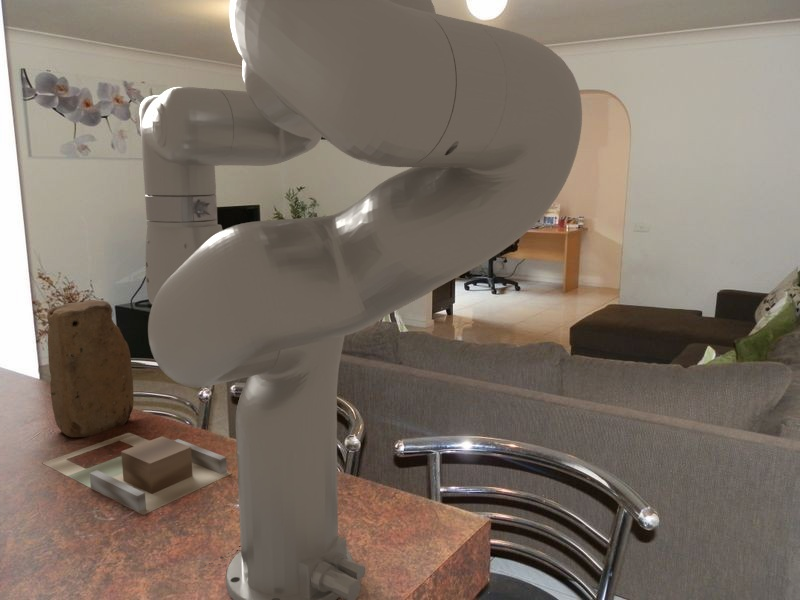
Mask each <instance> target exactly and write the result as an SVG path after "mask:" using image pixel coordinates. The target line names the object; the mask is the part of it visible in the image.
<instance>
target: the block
mask: <svg viewBox="0 0 800 600" xmlns="http://www.w3.org/2000/svg"><path fill="white" fill-rule="evenodd" d="M112 314H113V308H112V306H111V304H110V303H109V302H108V301H105V300H97V299H88V300H84V301H81V302H78V301H77V302H70V303H65V304H62V305H61V304H60V305H57V306H54V307H51V308H50V309H49V310H48V311H47V314H46V319H47V323H48V326H49V327H48V330H47V353H48V354H47V356H48V357H47V358H48V367H49V374H50V387H49V388H50V398H51V404H52V411H53V416H54V419H55V423H56V426H57V428H58V429H59V430H60V431H61V432H62V433H63V434H64V435H66V436H67V437H70V438H87V437H91V436H95V435H97V434H100V433H103V432H107V431H109V430H112V429H115V428H119V427H121V426H124V425H125V424H126V423H127V421H128V420H130V418H131V414H132V412H133V409H134V401H135V400H134V399H135V398H134V378H133V369H132V368H133V366H132V359H131V351H130V348H129V344H128V342H127V341H126V340H125V338H124V336H123V334H122V332H121V329H120V327H119V326H117V325H116V323H115V322H114V320H113V315H112Z"/></svg>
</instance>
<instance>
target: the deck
mask: <svg viewBox="0 0 800 600" xmlns="http://www.w3.org/2000/svg"><path fill="white" fill-rule="evenodd" d="M173 440H174V439H173ZM119 441H120V442H121V443H124V444H126V445H129V446H132V447H134V446H137V445H140V444H142V443H145V442H148V441H150V440H149V439H146V438H144V437H141V436H139V435H136V434H134V433H132V432H126V433H123V434H121V435H117V436H115V437H112V438H109V439H106V440H104V441H101V442H98V443H95V444H92V445H89V446H85V447H83V448H81V449H80V448H79V449H78V450H74V451H71V452H68V453H67V454H64V455H61V456H58V457H55V458H52V459H49V460H46V461H44V462H42V463H41V464H42V465H45V466H47V467H48V468H50V469H52V470H54V471H56V472H58V473H60V474H61V475H64V476H66V477H67V478H70V479H72V480H74V481H75V482H77V483H80V484H82V485H84V486H86V487H88V488H89V489H92V490H94V491H96V492H98V493H99V494H101V495H102V496H105V497H107V498H108V499H112V500H114V501H115V502H117V503H119V504H121V505H123V506H125V507H127V508H129V509H131V510H133V511H135V512H137V513H138V514H140V515H142V516H145V515H147V514H148V513H151V512H153V511H156V510H157V509H159V508H163V507H164V506H166V505H169V504H171V503H173V502H175V501H176V500H179V499H181V498H184V497H185V496H188V495H190V494H192V493H195V492H196V491H198V490H200V489H203V488H205V487H207V486H209V485H212V484H213V483H215V482H217V481H220V480H221V479H224V478H226V477H228V476H230V475H232V472H229V471H228V468H227V467H228V466H227V457H226V456H224V455H222V454H219V453H216V452H213V451H211V450H208V449H205V448H203V447H201V446H198V445H195V444H192V443H190V442H187V441H185V440H182V439H180V438H177V439H175V440H174V441H176V442H179V443H181V444H184V445H187V446H189V447H191V457H192V474H193V476H192V477H189V478H187V479H185V480H183V481H180V482H178V483H176V484H174V485H171V486H169V487H167V488H165V489H162V490H160V491H158V492H156V493H153V494H151V493H148V492H146V491H144V490H142V489H140V488H138V487H136V486H134V485H132V484H129V483H127V482H125V481H123V468H122V456H121V455H120V456H117V457H114V458H112V459H109V460H106V461H104V462H101V463H98V464H96V465H93V466H90V467H88V468H85V467H82V466H81V465H78V464H77V463H74V462H72V461H70V459H73V458H74V457H77V456H80V455H83V454H86V453H88V452H92V451H94V450H96V449H100V448H102V447H106V446H108V445H112V444H114V443H117V442H119Z"/></svg>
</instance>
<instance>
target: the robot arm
mask: <svg viewBox="0 0 800 600" xmlns="http://www.w3.org/2000/svg"><path fill="white" fill-rule="evenodd" d="M229 25H230V31H231V35H232V40H233V42H234V45H235V47H236V49H237V52H238V53H239V54H240V56H241V58H242V63H241V64H242V67H241V68H242V72H241V74H242V80H243V83H244V86H245V90H246V91H245V90H243V91H242V90H232V89H222V88H221V89H219V88H208V87H207V88H206V87H205V88H203V87H194V86H176V87H171V88H169V89H166V90H165V91H163V92H162V93H161V94H159V95H158V94H157V95H156V94H155V95H150V96H147V97H145V98H144V99H143V100H142V101H141V103H140V106H139V122H140V123H139V125H140V126H139V127H140V138H141V141H140V143H141V154H142V169H143V180H144V181H143V182H144V184H143V185H144V198H145V199H144V201H145V209H146V210H145V212H146V213H145V214H146V226H147V227H146V235H145V236H146V240H145V284H146V292H147V297H148V301H149V303H150V304H151V309H150V311H149V315H148V322H147V337H148V344H149V347H150V348H149V349H150V351H151V354H152V356H153V359H154V361H155V362H156V364H157V366H158V367H159V369H160V370H161V371H162V372H163V373H164V374H165V375H166V376H167V377H168V378H169V379H170V380H172V381H173V382H175V383H177V384H179V385H181V386H186V387H188V388H203V387H204V388H205V387H210V386H215V385H219V384H224V383H227V382H233V381H236V380H241V379H245V378H246V381H245V383H244V385H243V388H242V390H241V393H240V396H239V400H238V403H237V407H236V412H235V413H236V414H235V443H236V444H235V445H236V462H237V463H236V466H237V469H236V471H237V485H238V486H237V489H238V490H237V491H238V492H237V493H238V508H239V509H238V511H239V515H238V516H239V530H240V531H239V534H240V536H239V537H240V551H239V552H238V553H237V554H236V555H234V557H232V560H231V561H230V562H229V564H228V566H227V568H226V571H225V572H226V573H225V583H226V584H225V585H226V590H227V593H228V595H229V596H230V598H231V599H232V600H338V599H339V598H341V599H344V600H356V599H357V598H358V597H359V595H360V593H361V589H362V585H361V581H362V580H363V578H364V577H365V574H366V570H367V568H366V566H364V565H363V564H361V563H358V562H356V561H354V558H353V556H352V554H351V552H350V551H349V550H348V548H347V538H344V537H343V536H340V535H339V523H338V522H339V521H338V520H339V519H338V518H339V517H338V515H339V513H338V512H339V511H338V509H339V505H338V500H339V499H338V498H339V497H338V440H337V439H338V438H337V437H338V435H337V434H338V433H337V430H338V412H337V411H338V405H337V404H338V382H339V381H338V380H339V369H340V363H341V356H342V351H343V347H344V342H345V341H344V340H345V336H347V335H352V334H355V333H357V332H360V331H361V330H365V329H366V328H368V327H370V326H371V325H373V324H375V323H377V322H378V321H380V320H381V319H384V318H385V317H387V316H388V315H390V314H392V313H394V312H397V311H399V310H400V309H401V308H403V307H405V306H407V305H409V304H411V303H413V302H415V301H417V300H418V299H421V298H423V297H425V296H426V295H429V294H430V293H431V292H433V291H434V290H436V289H437V288H440V287H441V286H443V285H446V283H448V282H451V281H452V280H454V279H456V278H458V277H460V276H461V275H463V274H465V273H468V272H470V271H471V270H474V269H475V268H477V267H478V266H481V265H482V264H484V263H485V262H487V261H489V260H490V259H492V258H493V257H495V256H497V255H498V254H500V253H501V252H503V251H504V250H506V249H507V248H509V247H510V246H512V245H513V244H514V243H515V242H516V241H517V240H519V239H521V238H522V237H523V236H524V235H525V234H526V233H527V232H529V231H530V230H531V229H532V228H533V227H534V226H535V225H536V224H537V223H538V222H539V221H540V220H541V219H542V218H543V216H544V215H545V214H547V211H548V210H549V209H550V208H551V206H552V205H553V204H554V202H555V201H556V199H557V198H558V196H559V195H560V193H561V191H562V190H563V187H565V184H566V182H567V180H568V179H569V176H570V173H571V170H572V168H573V166H574V163H575V159H576V157H577V153H578V148H579V145H580V140H581V133H582V125H583V106H582V98H581V92H580V88H579V85H578V82H577V80H576V78H575V76H574V73H573V71H572V70H571V69H570V68H569V66H568V64H567V63H566V61H564V60H563V59H562V57H560V56H559V55H558V54H557V53H555V51H554V50H552V48H549V47H548V46H546V45H544V44H543V43H540V42H539V41H537V40H535V39H534V38H531V37H529V36H526V35H524V34H521V33H519V32H514V31H511V30H507V29H504V28H500V27H496V26H492V25H487V24H483V23H479V22H474V21H469V20H464V19H460V18H455V17H451V16H447V15H442V14H439V13H437V12H436V9H435V5H434V4H433V2H432V0H230V1H229ZM322 138H324V139H325V140H326V141H327V142H329V143H330V144H331V145H333V147H334V148H336V149H338V150H339V151H341V152H343V154H345V155H346V156H349V157H351V158H353V159H356V160H358V161H361V162H364V163H367V164H370V165H373V166H378V167H379V166H380V167H394V168H408V169H406V170H404V171H401V172H399V173H397V174H395V175H392V177H391V176H390V177H389V178H387V179H386V180H384V181H383V182H380V183H378V184H377V185H375V187H374V188H373V189H372V190H370V191H369V192H368V193H367V194H366V195H365V196H363V197H362V198H361V199H359V200H358V201H356V202H355V203H354V204H351V205H350V206H349V207H347V208H345V209H344V210H341V211H340V212H337V213H335V214H331V215H324V216H323V215H322V216H315V217H301V218H286V219H273V220H272V219H271V220H270V219H269V220H257V221H250V222H245V223H244V222H243V223H240V224H235V225H232V226H230V227H227V228H225V229H223V226H222V224H218V206H217V204H218V203H217V186H216V185H217V184H216V182H217V181H216V166H217V167H218V166H250V167H266V166H273V165H277V164H278V165H279V164H282V163H285V162H287V161H289V160H292V159H294V158H296V157H299V156H301V155H303V154H306V153H308V152H309V151H312V150H313V149H314V148H316V147H317V145H318V144H319V143H320V141H321V139H322Z"/></svg>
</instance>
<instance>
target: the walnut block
mask: <svg viewBox="0 0 800 600" xmlns="http://www.w3.org/2000/svg"><path fill="white" fill-rule="evenodd" d="M120 454H121V455H120V456H122V468H123V481H125V482H127V483H129V484H132V485H134V486H136V487H138V488H140V489H142V490H144V491H146V492H148V493H151V494H153V493H156V492H158V491H160V490H162V489H165V488H167V487H169V486H171V485H174V484H176V483H178V482H180V481H183V480H185V479H187V478H189V477H192V476H193V474H192V457H191V447H189V446H187V445H184V444H181V443H179V442H176V441H174V439H170V438H168V437H165V436H163V435H161V436H159V437H156V438H153V439H150V440H149V441H148V442H145V443H142V444H140V445H137V446H132V447H128V448H125V449H123V450H121V451H120Z"/></svg>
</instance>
